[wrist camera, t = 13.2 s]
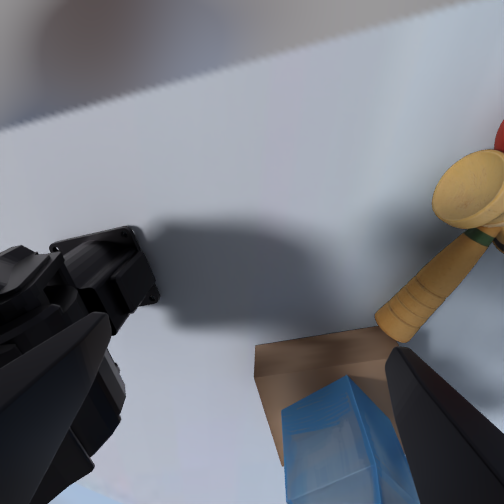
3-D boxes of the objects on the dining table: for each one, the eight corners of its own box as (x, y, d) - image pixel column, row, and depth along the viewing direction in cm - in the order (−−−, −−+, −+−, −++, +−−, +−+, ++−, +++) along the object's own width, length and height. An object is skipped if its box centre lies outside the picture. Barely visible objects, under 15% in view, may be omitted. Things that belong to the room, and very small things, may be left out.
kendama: (427, 322, 26) (649, 110, 16) (450, 381, 20) (803, 116, 11) (347, 281, 26) (520, 50, 17) (349, 329, 20) (608, 26, 11)
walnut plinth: (280, 429, 30) (282, 466, 27) (255, 345, 25) (253, 377, 22) (392, 415, 28) (409, 453, 25) (386, 324, 24) (404, 355, 21)
